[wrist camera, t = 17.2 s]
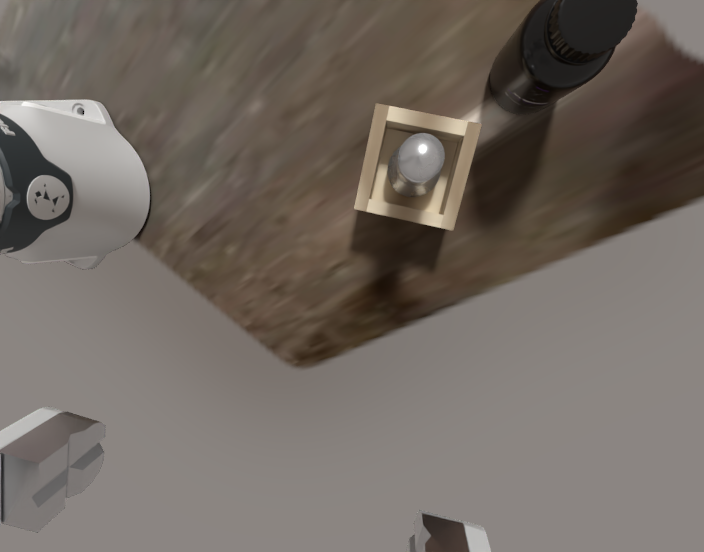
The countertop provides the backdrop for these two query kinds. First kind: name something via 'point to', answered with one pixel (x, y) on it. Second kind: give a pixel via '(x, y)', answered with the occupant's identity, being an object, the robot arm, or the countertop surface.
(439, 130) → the open wooden box
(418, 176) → the metal coffee tamper
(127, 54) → the countertop surface
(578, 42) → the supplement bottle
